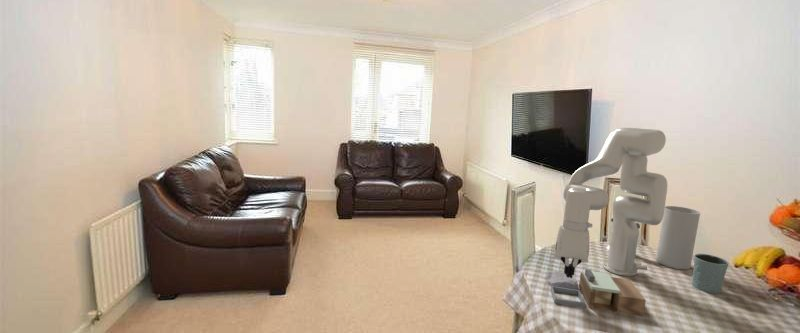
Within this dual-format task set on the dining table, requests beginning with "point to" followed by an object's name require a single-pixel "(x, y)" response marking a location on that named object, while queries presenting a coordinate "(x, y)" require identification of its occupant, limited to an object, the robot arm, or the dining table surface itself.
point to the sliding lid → (600, 281)
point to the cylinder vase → (677, 237)
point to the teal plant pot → (709, 272)
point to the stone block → (561, 280)
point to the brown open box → (616, 297)
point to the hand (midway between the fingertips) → (568, 276)
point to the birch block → (603, 297)
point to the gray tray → (567, 302)
